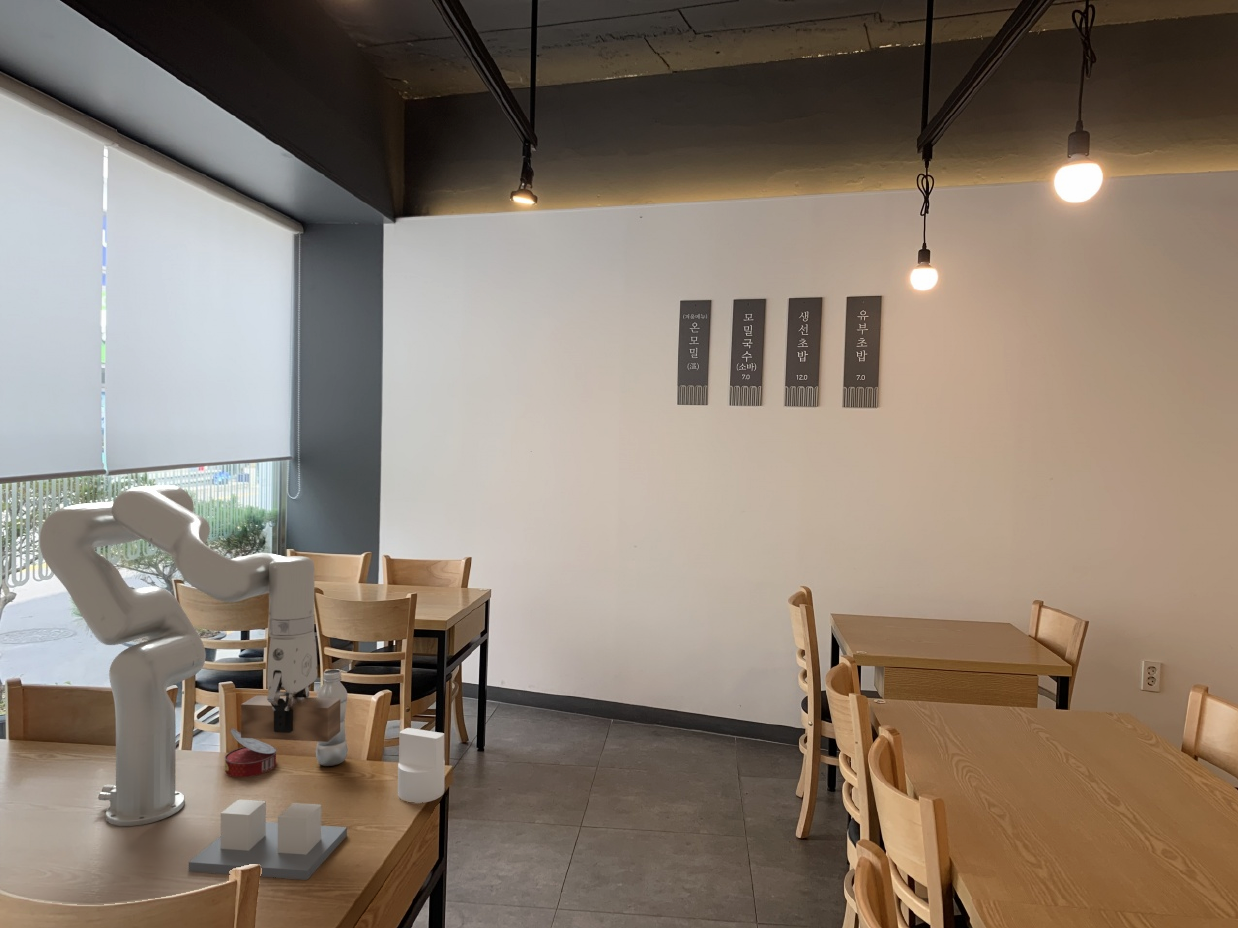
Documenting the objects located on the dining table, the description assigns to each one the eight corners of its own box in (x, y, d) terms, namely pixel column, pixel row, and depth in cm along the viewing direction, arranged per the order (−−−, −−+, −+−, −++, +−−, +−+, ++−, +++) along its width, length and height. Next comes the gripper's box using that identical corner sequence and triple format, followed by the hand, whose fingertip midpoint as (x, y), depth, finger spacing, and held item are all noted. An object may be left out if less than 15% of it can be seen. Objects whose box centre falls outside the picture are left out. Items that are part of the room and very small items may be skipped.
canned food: (239, 781, 167) (249, 733, 172) (282, 780, 166) (290, 732, 170) (206, 777, 157) (217, 726, 162) (251, 775, 156) (261, 724, 160)
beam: (240, 737, 136) (241, 704, 136) (256, 727, 141) (256, 695, 141) (327, 741, 135) (327, 707, 135) (340, 731, 140) (340, 698, 140)
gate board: (188, 871, 124) (188, 825, 123) (239, 828, 137) (239, 786, 137) (307, 879, 122) (307, 833, 121) (346, 835, 136) (347, 793, 135)
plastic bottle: (352, 757, 169) (353, 667, 169) (338, 770, 162) (339, 676, 162) (324, 756, 170) (325, 666, 169) (309, 768, 163) (310, 675, 163)
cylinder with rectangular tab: (452, 786, 156) (453, 728, 155) (428, 806, 147) (428, 744, 147) (414, 779, 159) (415, 722, 158) (388, 798, 150) (388, 737, 150)
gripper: (288, 638, 129) (288, 745, 129) (332, 615, 146) (332, 710, 146) (245, 636, 130) (245, 743, 130) (294, 614, 147) (294, 709, 147)
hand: (291, 724), depth 138 cm, fingers closed on beam, 5 cm apart
